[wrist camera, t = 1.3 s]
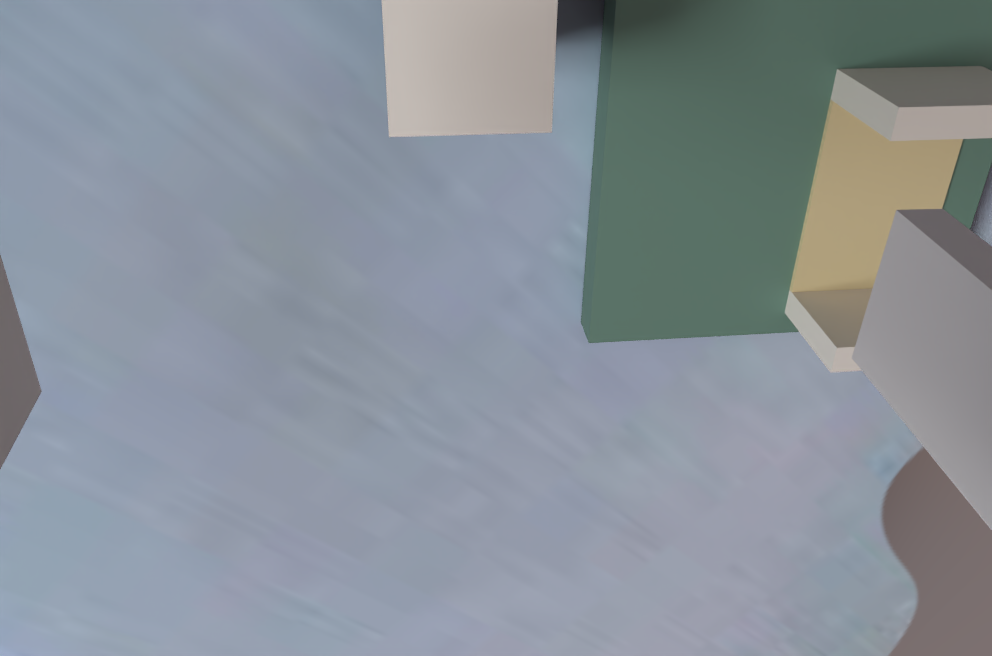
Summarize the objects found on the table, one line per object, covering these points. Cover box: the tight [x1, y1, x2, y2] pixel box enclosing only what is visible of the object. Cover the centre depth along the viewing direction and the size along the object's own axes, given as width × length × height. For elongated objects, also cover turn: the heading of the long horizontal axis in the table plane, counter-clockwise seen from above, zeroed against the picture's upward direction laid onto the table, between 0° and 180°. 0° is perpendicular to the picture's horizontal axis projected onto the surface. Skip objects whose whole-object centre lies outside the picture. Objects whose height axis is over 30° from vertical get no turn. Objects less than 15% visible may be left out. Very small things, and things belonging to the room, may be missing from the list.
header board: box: [581, 0, 992, 372], centre depth 28 cm, size 17×14×6 cm
